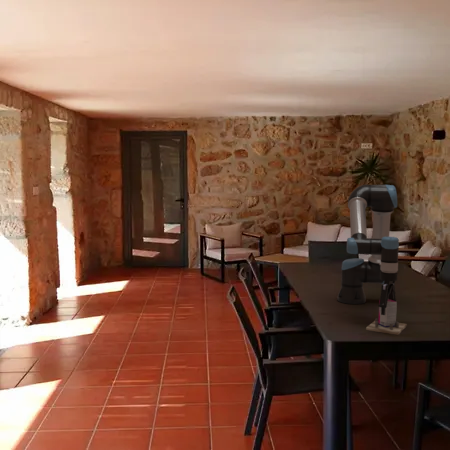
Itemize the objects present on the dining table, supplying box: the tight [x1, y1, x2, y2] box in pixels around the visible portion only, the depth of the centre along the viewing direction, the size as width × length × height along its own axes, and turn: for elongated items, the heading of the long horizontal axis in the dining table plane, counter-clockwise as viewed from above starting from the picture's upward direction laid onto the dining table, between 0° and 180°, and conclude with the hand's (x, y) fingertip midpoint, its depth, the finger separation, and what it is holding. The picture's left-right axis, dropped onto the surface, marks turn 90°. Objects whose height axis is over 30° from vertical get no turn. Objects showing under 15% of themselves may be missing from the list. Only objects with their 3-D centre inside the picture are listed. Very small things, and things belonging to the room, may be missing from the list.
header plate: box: [365, 318, 408, 336], centre depth 243 cm, size 16×14×4 cm
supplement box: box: [377, 299, 398, 327], centre depth 243 cm, size 6×6×12 cm
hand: (387, 318), depth 243 cm, fingers open, 12 cm apart
